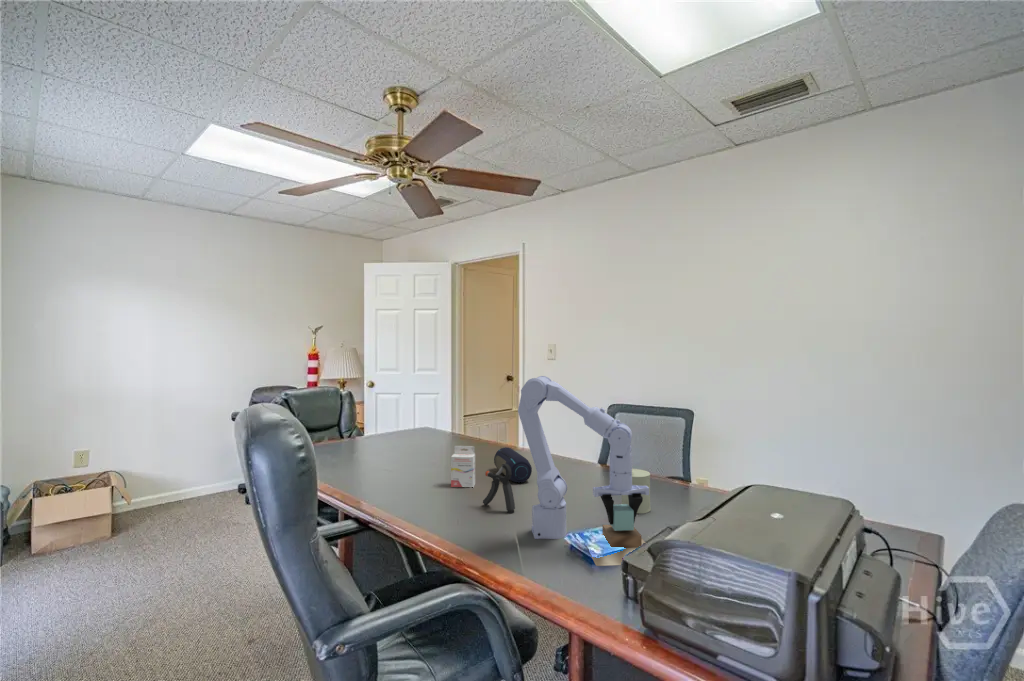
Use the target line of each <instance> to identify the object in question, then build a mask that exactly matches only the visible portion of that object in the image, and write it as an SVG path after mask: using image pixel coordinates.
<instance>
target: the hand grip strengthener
mask: <svg viewBox="0 0 1024 681" xmlns="http://www.w3.org/2000/svg"><path fill="white" fill-rule="evenodd" d="M504 468H505V470H506V475H505V474H504V476H503V475H501V474H502V471H503V470H504ZM511 475H512V473H511V468H510V466H509V465H508V464H506V463H505V464H502V467H501V468H500V470H499V469H498V471H497V472H496V473H493V472H492V471H489V470H487V471H485V476H486V477H489V478H491V479H492V481H491V485H490V486H491V487H490V489H489V491H488V494H487V495H486V497H485V498H484V499H483V500H482V503H483V504H484V506H487V505H489V504H490V503H491V502H492V501H493V500H494V498H495V496H496V495H497V492H498V490H499V487H500V482H501V483H502V489H503V495H504V502H505V507H506V508H505V509H506V511H507V513H508V514H513V513H515V509H516V506H515V505H516V504H515V499H514V493H513V488H512V484H511V483H510V477H511Z"/></svg>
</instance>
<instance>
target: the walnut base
mask: <svg viewBox="0 0 1024 681" xmlns="http://www.w3.org/2000/svg"><path fill="white" fill-rule="evenodd" d="M601 527H602V535H604V536H605V538H606V540H607V541H608V543H609V544H610V546H611V547H624V548H637V547H639V546H641V545H642V539H643V538H642V535H641V533H640V532H639V531H638V530H637V528H636V527H635V526H634V530H622V531H615V530H614V529H613V527H612V526H611V525H610V524H602V526H601Z"/></svg>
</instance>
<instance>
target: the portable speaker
mask: <svg viewBox="0 0 1024 681" xmlns="http://www.w3.org/2000/svg"><path fill="white" fill-rule="evenodd" d="M493 463H494V465H495V467H496V468H497V469H498V471H499V470H500V468H501V467H502V464H505V463H506V464H508V465H509V466H510V468H511V473H512V475H511V477H510V479H509V481H512V482H513V483H517V482H518V483H517V484H519V483H520V482H521V483H524V482H526V481H528V480H529V479H530V478H531V476H532V472H533V471H532V468H533V467H532V465H531V463H530V461H529V460H528V459H527V458H526V457H525V456H524V455H521V454H520V453H518V452H517V451H516V450H515V449H513V448H511V447H501V448H500V449H498V450H497V451H496V452H495V454H494V458H493ZM501 474H503V475H504V476H505V475H506V470H505V468H504V470H503V471H502V472H501ZM521 483H520V484H521Z"/></svg>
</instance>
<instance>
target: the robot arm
mask: <svg viewBox="0 0 1024 681" xmlns="http://www.w3.org/2000/svg"><path fill="white" fill-rule="evenodd" d="M520 394H521V395H520V398H519V405H518V409H517V412H518V417H519V419H520V422H521V425H522V428H523V432H524V435H525V439H526V441H527V444H528V445H527V446H528V448H529V451H530V454H531V458H532V460H533V463H534V467H535V470H536V474H537V475H536V476H537V478H536V485H537V488H538V491H537V499H538V501H539V503H538V504H533V505H532V506H531V533H532V536H533V538H534V539H536V540H537V539H540V540H541V539H549V540H550V539H551V540H556V539H557V540H559V539H562V538H564V537H566V536H567V502H566V500H565V497H564V496H565V495H566V494H567V492H568V484H567V482H566V480H565V479H564V478H563V477H562V475H561V473H560V470H559V469H558V468H557V467H556V465H555V462H554V460H553V459H554V458H553V456H552V453H551V450H550V447H549V445H548V441H547V437H546V435H545V431H544V428H543V425H542V422H541V420H540V417H539V410H540V408H541V406H542V404H543V403H544V402H545V401H547V402H559V403H560V404H562V405H564V406H565V407H567V408H568V409H570V410H572V411H573V412H574V413H576V414H578V416H581V417H582V418H583V422H584V425H585V426H587V427H589V428H590V429H591V430H593V431H594V432H595V433H596V434H598V435H600V436H601V437H602V438H603V439H607V442H608V443H609V444H608V445H609V446H610V448H609V485H602V486H595V487H592V495H593V496H594V498H598V497H600V498H601V501H602V503H603V506H604V508H605V511H606V515H607V522H608V523H609V525H610V524H613V505H615V500H614V499H613V497H612V496H622V495H628V499H629V506H630V507H631V508H632V509H633V510H634V523H635V522H636V518H637V511H638V509H639V506H640V505H641V503H642V501H643V497H642V496H641V495H642V494H645V495H649V487H647V486H638V485H632V469H633V453H632V438H633V431H632V429H631V428H630V426H628V424H627V423H626V422H625V423H624V422H621V420H620V419H619V418H618V419H615V418H613V416H612V415H610V414H608V412H606V409H605V408H604V407H598V406H591V407H590V406H589V405H587V404H586V403H584V402H583V401H582V400H581V399H579V397H577V396H576V395H575V394H573V393H572V392H571V391H569V390H568V389H566V388H565V387H563V386H562V385H561V384H560V383H558V381H555V380H552V379H551V378H550V377H548V376H546V375H540V376H537V377H533V378H529V379H528V380H527V381H526V382H525V383H524V385H523V386H522V387H521V389H520Z"/></svg>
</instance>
